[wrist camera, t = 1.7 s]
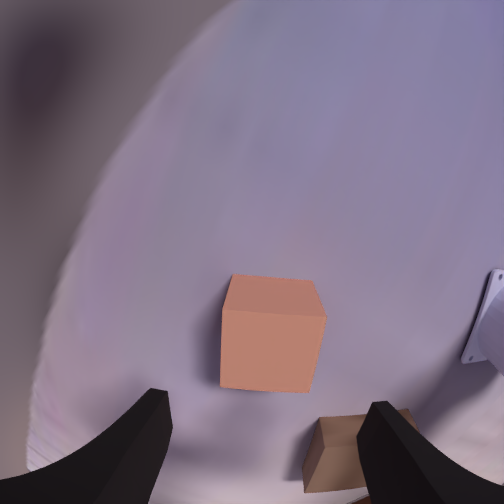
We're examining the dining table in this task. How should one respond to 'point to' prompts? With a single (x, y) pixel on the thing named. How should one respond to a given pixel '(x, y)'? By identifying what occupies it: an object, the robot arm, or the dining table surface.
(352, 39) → the dining table surface
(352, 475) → the walnut block
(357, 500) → the food container
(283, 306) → the terracotta cube
